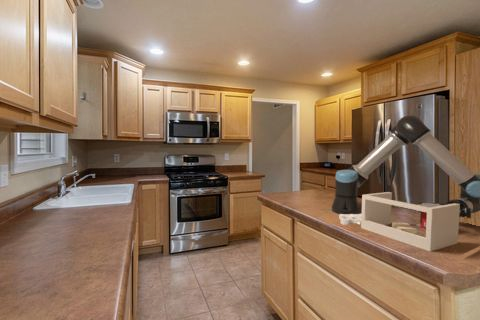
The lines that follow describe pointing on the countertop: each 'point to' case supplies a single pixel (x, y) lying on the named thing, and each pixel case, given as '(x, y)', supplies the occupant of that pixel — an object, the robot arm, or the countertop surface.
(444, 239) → the rack
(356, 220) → the white brass knuckles
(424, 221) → the canned food
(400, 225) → the offcut top
